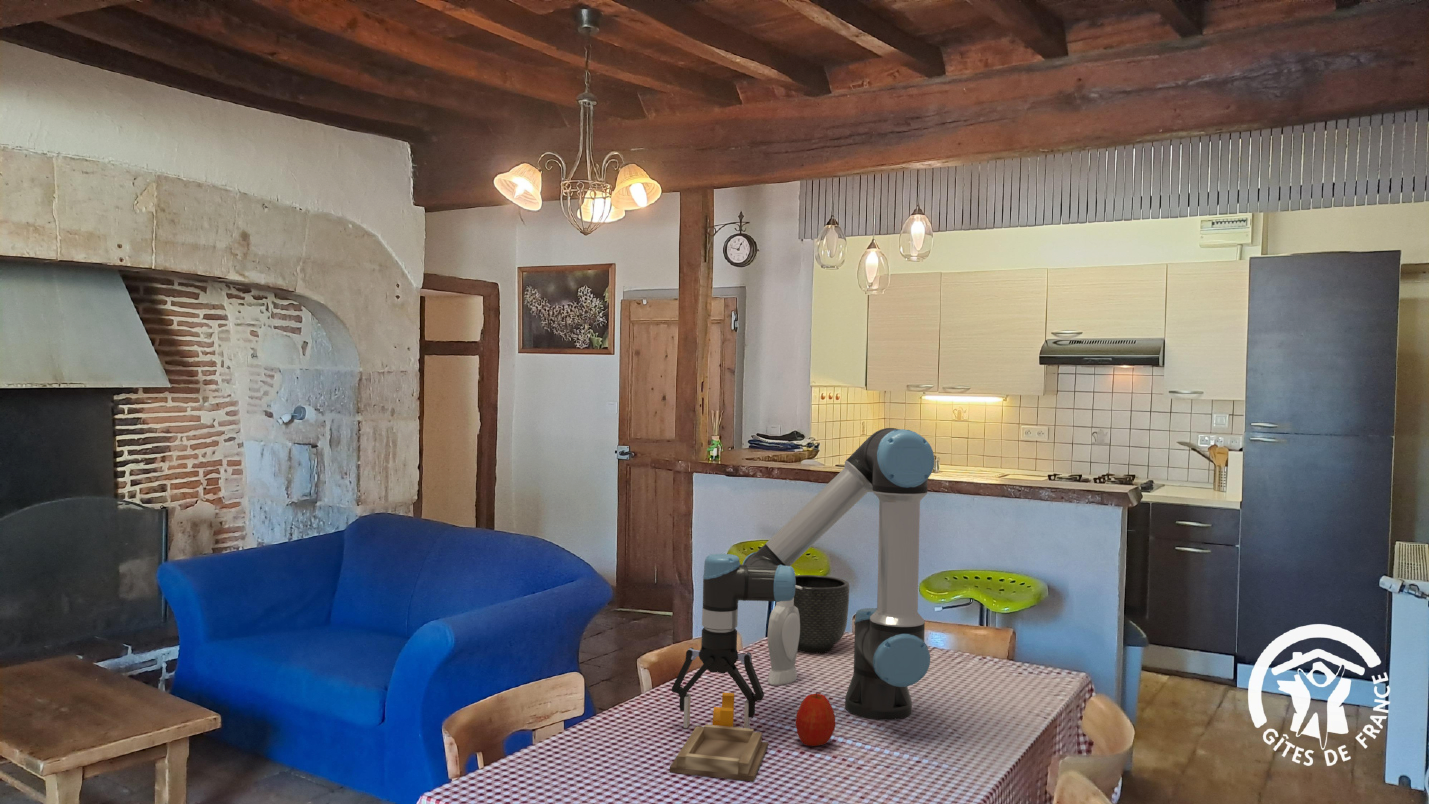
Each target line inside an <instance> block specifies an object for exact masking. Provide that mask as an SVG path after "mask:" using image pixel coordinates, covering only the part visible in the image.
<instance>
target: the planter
mask: <svg viewBox="0 0 1429 804" xmlns="http://www.w3.org/2000/svg"><path fill="white" fill-rule="evenodd" d="M795 579H796V585H797V586H800V587H803V589H798V588H795V595H794V606H795V607H797V608H798V611H799V615H800V637H799V644H798V650H797V652H803V653H807V654H824V653H828V652H830V651H832V650H833V648H834V646H835V645H836V644H837V643H838V642H840V641H841V639H842V638H843V636H844V634H845V632H846V628H847V624H848V614H849V605H850V604H849V603H850V583H849V582H848V581H847V580H846V579H845V580H844V579H842V578H837V577H833V576H826V575H814V574H808V575H807V574H800V575H799V574H798V575H796V574H795Z"/></svg>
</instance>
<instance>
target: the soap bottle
mask: <svg viewBox="0 0 1429 804" xmlns="http://www.w3.org/2000/svg"><path fill="white" fill-rule="evenodd" d="M796 588H798V589H803V587H800V586H797V585H796ZM775 603H776V604H775V606H774V608H773V609H772V610H771V612H770V614H769V619H768V628H767V648H768V653H769V654H768V655H769V659H770V660H769V661H770V667H771V668H770V670H769V674H768V679H767V683H768V685H771V686H782V685H783V686H784V685H789V684H791V683H793V682H795V681H796V680H797V679H798V673H797V667H796V662H797V661H796V660H797V655H798V644H799V637H800V615H799V611H798V608H797V607H795V606H794V598H793V599H792V600H790V601H780V602H777V601H775Z"/></svg>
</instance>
